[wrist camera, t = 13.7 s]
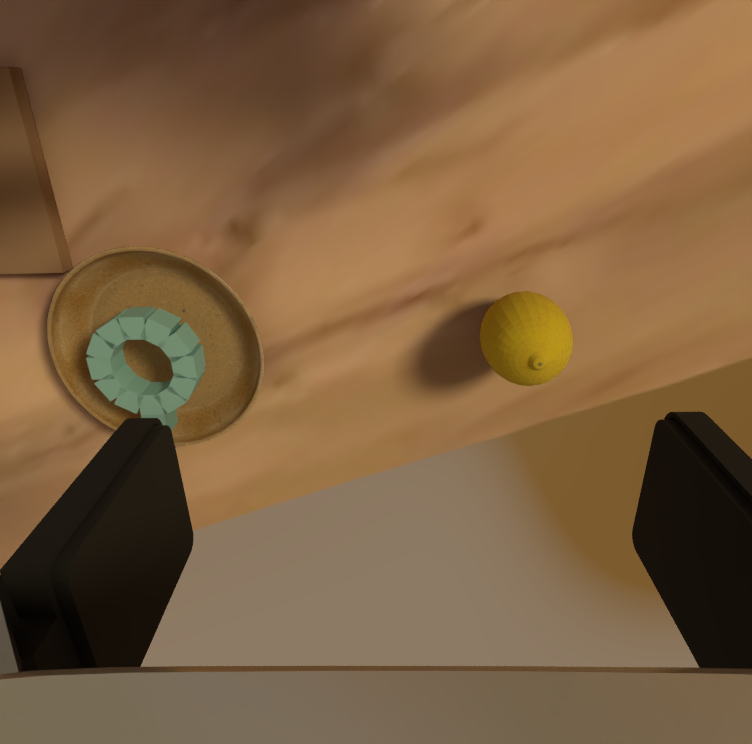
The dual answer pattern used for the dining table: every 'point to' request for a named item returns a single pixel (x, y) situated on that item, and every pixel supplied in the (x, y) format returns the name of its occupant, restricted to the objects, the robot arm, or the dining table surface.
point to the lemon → (526, 338)
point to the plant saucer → (179, 297)
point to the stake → (26, 189)
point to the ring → (136, 390)
